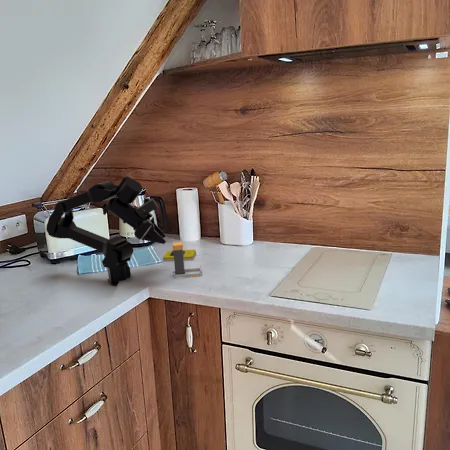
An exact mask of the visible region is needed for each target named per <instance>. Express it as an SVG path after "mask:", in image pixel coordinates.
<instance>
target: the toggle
mask: <svg viewBox="0 0 450 450" xmlns="http://www.w3.org/2000/svg"><path fill="white" fill-rule="evenodd" d="M183 243H184V242H183V241H178V242H177V241H176V242H172V250H173V253H174V261H173V263H174V276H175V275H178V274H186V272H185V269H186V267H185V261H184V256H183V250H184V244H183Z"/></svg>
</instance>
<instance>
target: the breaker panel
mask: <svg viewBox="0 0 450 450" xmlns="http://www.w3.org/2000/svg"><path fill="white" fill-rule="evenodd" d="M202 269H203V268H202V265H200V266H199V267H192V268H191V267H190V268H185V274H178V275H175V271H172V273H173V274H174V279H185V278H199V277H201V276H202V275H203V272H202V271H203V270H202ZM191 272H193V273H191Z"/></svg>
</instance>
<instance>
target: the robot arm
mask: <svg viewBox="0 0 450 450" xmlns="http://www.w3.org/2000/svg"><path fill="white" fill-rule="evenodd" d="M142 191H143V186H142V184H141V183H140V182H139V181H137V180H135V179H133V178H131V177H130V176H129V175H128V176H124V177H123V178H122V179H121V182H119V184H115V183H113V182H112V181H110V180H109V181H108V180H107V181H104V182H103V181H102V182H100V183H95V184H94V185H92V186H90V187H89V188H88V189H87V190H86V191H85V192H82V193H80V194H77V195H74V196H72V197H69V198H68V199H64V200H60V201H57V203H56V204H55V207H54V210H53V211H52V213H51V215H49V218H48V221H47V223H46V228H45V230H46V232H47V234H48V235H49V237H52V238H56V239H69V240H72V241H74V242H77V243H79V244H81V245H84V246H85V247H89V248H91V249H94V250H96V251H99V252H100V253H102V254H103V256H104V258H103V259H101V263H102V265H103V267H104V268H107V275H108V278H107V282H108V283H109V284H110V285H111V286H118V285H119V282H121V281H125V280H127V279H129V278H131V277H132V275H131V273H132V272H131V266H130V265H129V262H130V261H131V259H132V256H133V255H134V246H133V245H132V243H131V242H129V241H128V238H123V237H122V236H119V235H115V236H113V237H111V238H106V237H104V236H101V235H99V234H96V233H94V232H92V231H89V230H86V229H84V228H82V227H79V226H77V225H76V222H75V221H74V212H73V210H74V209H76V208H79V207H83V206H85V205H88V204H90V203H91V204H92V203H101V202H102V203H103V202H105V201H108V202H107V203H103V205H102V206H101V209H102V214H103V215H104V216H106V214H108V211H109V213H111V214H113V216H115V217H117V218H119V219H120V221H122V223H123V224H127V225H128V226H129V227H131V228H132V229H133V230H134V232H133V234H134V237H135V238H136V239H138V240H139V241H140V240H141V241H147V242H153V243H158V244H162V245H165V244H166V242H167V241H166V240H165V237H166V236H167V235H166V234H165V233H164V232H163V231H162V229H161V228H160V227H159V226H158V225H157V223H156V222H155V216H153V213H151V212H153V211H155V210H157V209H158V208H159V206H158V204H157V203H156V201H155V199H154V198H148V197H146V198H144V199H143V200H142V201H143V204H140V206H137V205H132V203H134V202H135V200H136V199H137V198H138V196H139V195H140V193H142Z"/></svg>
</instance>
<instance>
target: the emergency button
mask: <svg viewBox="0 0 450 450" xmlns="http://www.w3.org/2000/svg"><path fill="white" fill-rule="evenodd" d="M183 256H184V262H185V261H186V262H187V261H188V262H189V261H191V262H192V261H194V260H195V258H196V257H198V256H200V255H199V254H198V255H197V251H196V249H183ZM162 261H163V262H174V253H173V249H172V250H171V249H169V250H166V252H165V253H164V255H163V257H162Z"/></svg>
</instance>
